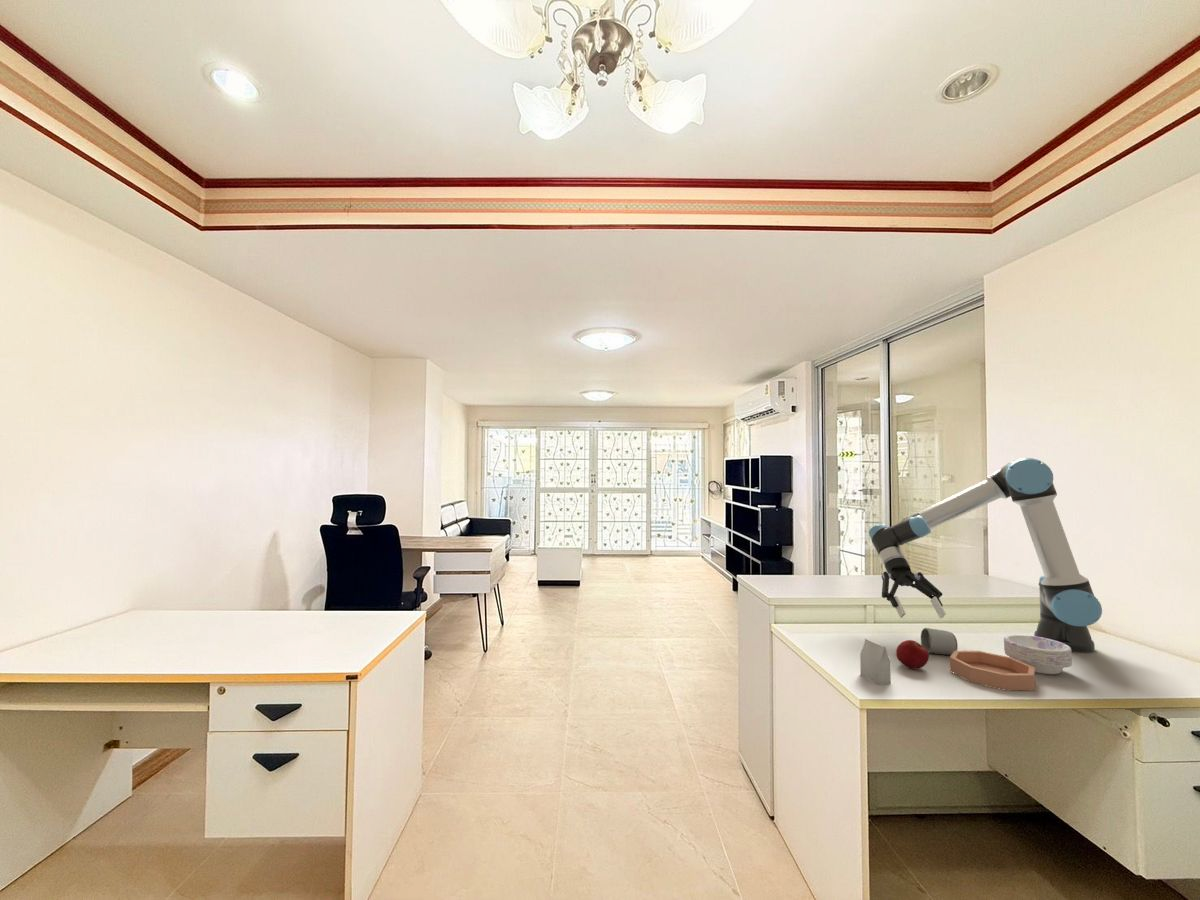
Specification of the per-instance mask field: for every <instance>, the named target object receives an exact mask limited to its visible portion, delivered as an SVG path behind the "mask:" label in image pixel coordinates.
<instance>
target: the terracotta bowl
mask: <svg viewBox="0 0 1200 900" xmlns="http://www.w3.org/2000/svg"><path fill="white" fill-rule="evenodd" d="M949 670H950V672H951V671H952V672H951V673H953V672H954V673H953V674H955V673H956V674H955V675H957V676H959V677H960V676H961V677H960V678H962V677H963V678H962V679H964V678H965V680H966V679H967V680H966V681H968V680H969V681H968V682H970V683H973V682H974V684H977V683H979V684H978V685H981V684H982V685H983V686H985V685H987V686H986V687H989V686H991V687H990V688H993V687H995V689H998V688H1000V689H999V690H1002V689H1005V690H1004V691H1006V690H1034V691H1035V688H1036V687H1035V686H1036V672H1035V667H1032V666H1030V665H1028V664H1025V663H1023V662H1021V661H1018V660H1016V659H1014V658H1011V657H1009V656H1007V655H1001V654H996V653H991V652H986V651H981V650H957V651H954V652H953V654H951V655H950V657H949ZM1034 687H1035V688H1034Z"/></svg>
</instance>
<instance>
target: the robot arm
mask: <svg viewBox="0 0 1200 900" xmlns="http://www.w3.org/2000/svg"><path fill="white" fill-rule="evenodd" d="M1057 496H1058V493H1057V490H1056V487H1055V484H1054V473H1053V471H1052V469H1051V468H1050V466H1048V464H1046V463H1045V462H1043V461H1041V460H1039V459H1037V458H1031V457H1025V458H1024V457H1023V458H1019V459H1015V460H1012V461H1010V462H1007V463H1006V464H1005V465H1004V466H1002V467H1000V469H998V470H996V471H994V472H992V473H990V474H989V475H987V476H986V479H984V480H983V481H980V482H979V483H977V484H975V485H973V486H970V487H968V488H966V489H964V490H962V491H960V492H958V493H956V494H953V495H952V496H949V497H948V498H945V499H943V500H941V501H939V502H937V503H935V504H933V505H930V506H929V507H927V508H924V509H922V510H920V511H919V512H917V513H914V514H913V515H912V514H911V515H910V516H907V517H905V518H903V519H902V520H901V521H900V522H899V523H896V524H894V525H892V526H888V525H887V524H885V523H881V524H876V525H873V526H872V527H870V529H869V531H868V536H869V538H870V540H871V543H872V544H873V546H874V548H875V551H876V552H877V554H878V556H879V558H880V560H881V563H882V564H883V566H884V569H885V571H883V573H882V574H881V580H882V589H881V598H883V599H885V598H886V600H887V601H888V602H889V603H890V604H891V606H892V607H893V608H895V609H896V612H897V614H898V616H899V618H900V619H901V618H903V617H904V616H905V615H906V611H905V609H904V607H903V605H902V603H901V601H900V599H899V597H898V596H897V595H896V592H897V590H898V588H899V586H900V587H905V586H906V587H911V588H913V589H916V590H918V591H919V592H920V593H922V594H923V595H925V596H927V597H928V598H929V599H930V603H931V604H932V606H933V608H934V609H935V612H936V613H937V616H938V618H939V619H943V618H944V617H945V615H947V613H946V611H945V609H944V608H943V606H944V605H943V603H942V601H941V599H940V598H941V597H942V596H943V592H941V590H940V589H938V588H937V587H936V586H935V585H934V584H933V583H932V582H930V581H929V580H928V579H927V578H926V577H925V576H924V574H923V573H922V572H920V571H919V572H918V573H913V572H912V570H911V566H910V564H909V562H908V561H907V559H906V557H905V555H904V553H903V551H902V549H901V547H900V546H903V545H905V544H908V543H910V542H913V541H916V540H918V539H920V538H924V537H925V536H928V535H930V534H931V532H932V530H933V529H935V528H937V527H940V526H941V525H944V524H946V523H948V522H950V521H953V520H955V519H957V518H959V517H962V516H963V515H966V514H967V513H971V512H972V511H974V510H976V509H979V508H981V507H983V506H985V505H987V504H990V503H992V502H994V501H996V500H998V499H1007V498H1011V501H1012V502H1013V503H1015V504H1017V505H1018V506H1019V507H1020V509H1021V512H1022V515H1023V518H1024V521H1025V524H1026V527H1027V530H1028V533H1029V536H1030V538H1031V541H1032V545H1033V547H1034V550H1035V552H1036V555H1037V558H1038V561H1039V564H1040V567H1041V569H1042V572H1043V575H1040V577H1039V579H1038V581H1039V582H1038V587H1039V589H1038V590H1039V613H1040V615H1039V618H1040V619H1039V621H1038V624H1037V627H1036V630H1035V631H1034V634H1033V636H1036V637H1042V638H1047V639H1051V640H1055V641H1058V642H1061V643H1064V644H1066V645H1068V646H1069V647H1070V648H1071V652H1076V653H1077V652H1078V653H1079V652H1080V653H1094V652H1095V650H1096V648H1095V647H1096V646H1095V642H1094V640H1093V639H1092V635H1091V633H1090V631H1089V628H1088V626H1091V625H1094V624H1095V623H1097V622H1098V621H1100V618H1101V617H1102V614H1103V609H1102V604H1101V602H1100V601H1099V599H1098V598H1097V597H1096V596H1095V594H1094V592H1093V589H1092V586H1091V583H1090V581H1089V579H1088V578H1087V577H1085V576H1083V575H1082V574H1081V573H1080V572H1079V568H1078V566H1077V562H1076V561H1075V557H1074V555H1073V552H1072V550H1071V547H1070V546H1071V545H1070V543H1069V541H1068V538H1067V535H1066V532H1065V530H1064V527H1063V524H1062V522H1061V519H1060V516H1059V514H1058V511H1057V507H1056V505H1055V502H1054V500H1055V498H1056V497H1057ZM890 579H891V580H892V581H893V584H892V585H891V586H892V587H891V589H890V588H889V586H890V585H889V584H890ZM889 589H890V591H889Z"/></svg>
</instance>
